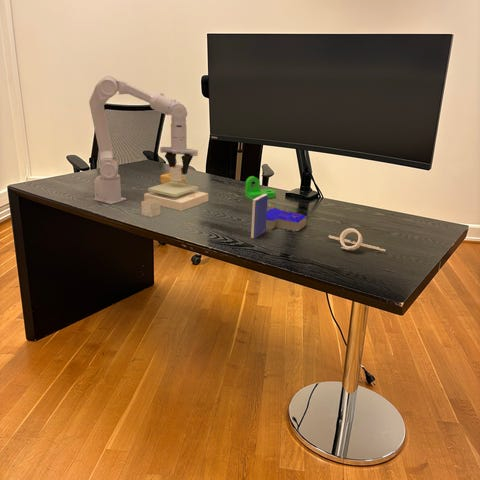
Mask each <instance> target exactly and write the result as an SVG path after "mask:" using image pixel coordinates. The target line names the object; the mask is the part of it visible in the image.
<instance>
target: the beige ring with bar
mask: <svg viewBox="0 0 480 480" xmlns="http://www.w3.org/2000/svg"><path fill="white" fill-rule="evenodd" d="M350 233H355V234H357V236H358V237H357V239H358V240H357V242H356V241H354V240H353V241H351V240H350V239H347V238H346V236H347V235H348V234H350ZM328 238H329V239H333V240H336V241H339V243H340V244H341V247H340V248H341V249H344V250H347V251H355V250H357V249H359V248H360V247H365V248H367V249H373V250H377V251H378V250H379V251H380V252H383V253H385V252H386V249H384V248H380V247H379V246H374V245H371V244H366V243H363V235H362V234H361V232H359V231H358V230H357V229H355V228H351V227H349V228H345V229H344V230H343V231H342V232H341V233H340V235H339V236H333V235H330V234H329V235H328ZM345 238H346V239H345ZM346 243H348V244H350V243H351V244H352V245H351V246H348V245H346Z"/></svg>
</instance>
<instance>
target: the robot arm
mask: <svg viewBox="0 0 480 480" xmlns="http://www.w3.org/2000/svg"><path fill="white" fill-rule="evenodd" d="M117 93H118V95H130V96H132V97H134V98H137V99H139V100H142V101H144V102H146V103H148V104H149V106H150V108H151V109H152V110H154V111H157V112H159V113H161V114H164V115H166V116H171V118H170V120H171V121H170V122H171V123H170V146H161V147H159V151H160V152H159V153H165V154H164V157H165V159H166V161H167V163H168V165H169V168H170V167H171V166H174V165H175V160H177V155H181V157H180V158H181V161H182V166H183V174H186V175H187V174H188V169H189V167H190V164H191V162H192V160H193V157H197V156H199V151H198V149H192V148H187V146H188V145H187V143H188V142H187V138H188V137H187V116H188V110H187V108H186V106H185V105H184V104H182V103H181V102H180V101H177V100H176V99H171V98H170V97H167V96H165V94H164V93H163V92H160V93H159V92H155V93H153V94H152V93H150V92H149V91H146V90H144V89H142V88H140V87H138V86H136V85H134V84H132V83H130V82H128V81H125V80H122V79H120V78H115V77H113V76H110V75H108V76H104V77H103V78H101V80H99V82H98V83H97V84H95V86H94V89H93V92H92V94H91V96H90V98H89V100H88V102H89V104H88V105H89V108H90V113H91V119H92V123H93V128H94V133H95V137H96V141H97V146H98V153H99V162H100V167H99V173H100V174H99V175H97V176H96V177H95V179H94V181H93V186H94V188H93V189H94V195H95V196H94V198H93V201H97V202H102V203H106V204H108V205H114V204H117V203H120V202H123V201H126V200H127V198H126V197H122V189H121V175H120V174H119V173H118V170H119V166H120V164H119V162H118V159H116V157H115V153H114V150H113V145H112V141H111V135H110V131H109V130H110V129H109V126H108V121H107V115H106V110H105V105H106V104H107V102H108V101H109V100H110V98H112V97H114V96H115V95H117Z"/></svg>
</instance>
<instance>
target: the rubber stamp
mask: <svg viewBox="0 0 480 480" xmlns="http://www.w3.org/2000/svg"><path fill="white" fill-rule="evenodd" d="M175 165H177V159H176V160H175ZM171 181H173V180H170V172H169V173H164V174H161V175H160V184H164V183H168V182H171ZM174 182H178V183H183V184H186V183H187V178H186V179H185V180H183V181H174Z"/></svg>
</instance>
